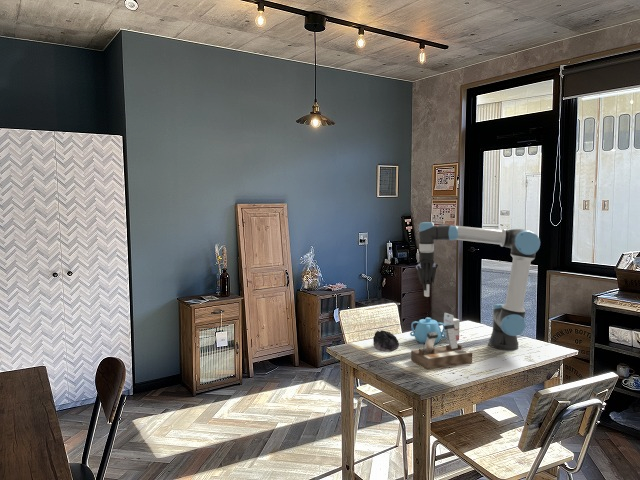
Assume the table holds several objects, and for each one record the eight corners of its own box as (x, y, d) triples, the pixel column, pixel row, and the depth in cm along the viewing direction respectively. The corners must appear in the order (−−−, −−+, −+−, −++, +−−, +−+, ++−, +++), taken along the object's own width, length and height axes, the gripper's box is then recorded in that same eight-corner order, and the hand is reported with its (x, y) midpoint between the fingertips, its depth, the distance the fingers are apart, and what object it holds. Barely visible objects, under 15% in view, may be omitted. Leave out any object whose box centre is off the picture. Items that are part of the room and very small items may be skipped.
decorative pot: (448, 343, 268) (449, 319, 267) (425, 347, 261) (426, 322, 260) (429, 336, 283) (430, 313, 282) (407, 339, 276) (407, 316, 275)
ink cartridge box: (459, 339, 275) (460, 314, 274) (452, 341, 273) (453, 315, 272) (449, 336, 283) (450, 311, 282) (442, 337, 281) (443, 312, 280)
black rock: (403, 351, 257) (404, 332, 258) (382, 352, 252) (382, 333, 252) (389, 346, 270) (390, 328, 270) (368, 347, 264) (369, 329, 264)
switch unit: (454, 354, 250) (454, 341, 249) (472, 362, 237) (472, 348, 236) (411, 360, 240) (411, 346, 240) (427, 369, 227) (427, 355, 227)
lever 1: (429, 350, 238) (435, 331, 233) (431, 353, 236) (438, 334, 231) (421, 351, 236) (427, 332, 231) (423, 354, 234) (430, 335, 229)
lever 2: (456, 348, 244) (451, 325, 247) (458, 347, 242) (454, 324, 245) (448, 349, 242) (444, 326, 245) (451, 348, 240) (446, 325, 243)
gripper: (432, 250, 258) (432, 293, 260) (411, 251, 253) (412, 296, 255) (441, 251, 251) (441, 296, 253) (420, 253, 246) (420, 298, 248)
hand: (426, 296), depth 254 cm, fingers closed
